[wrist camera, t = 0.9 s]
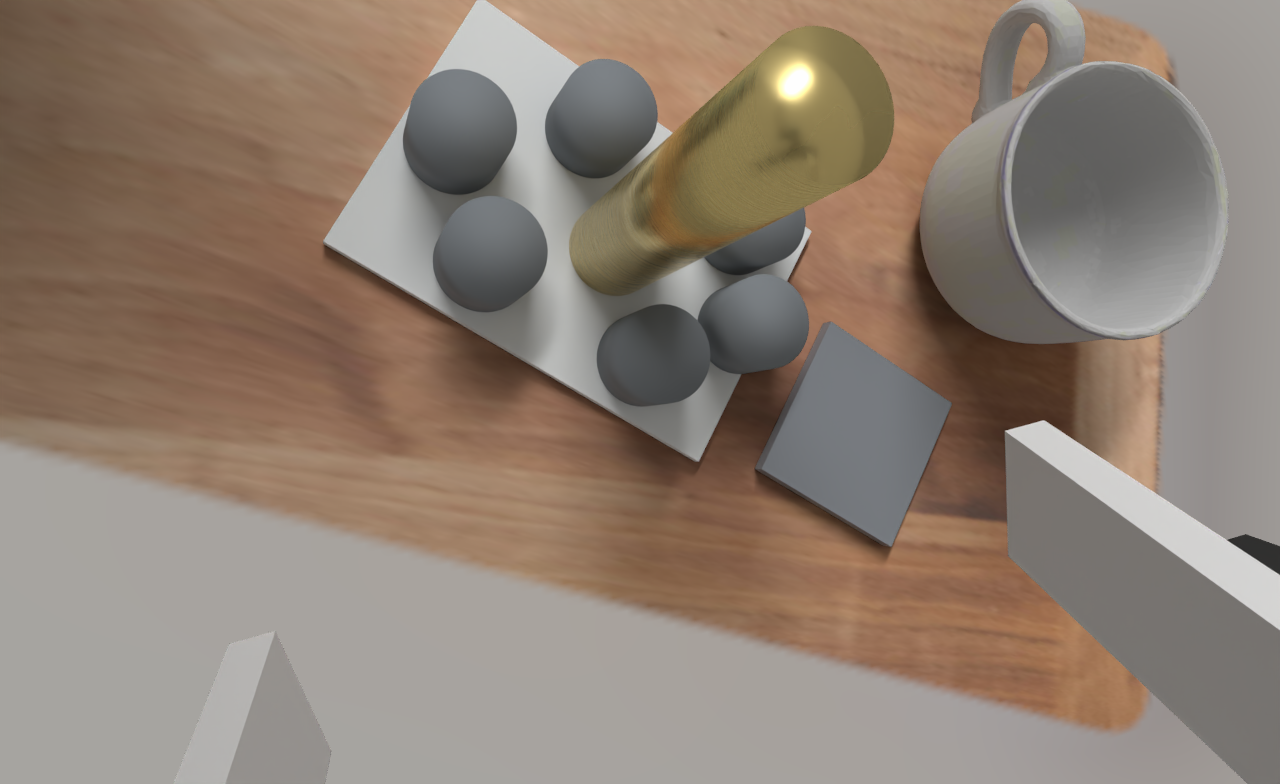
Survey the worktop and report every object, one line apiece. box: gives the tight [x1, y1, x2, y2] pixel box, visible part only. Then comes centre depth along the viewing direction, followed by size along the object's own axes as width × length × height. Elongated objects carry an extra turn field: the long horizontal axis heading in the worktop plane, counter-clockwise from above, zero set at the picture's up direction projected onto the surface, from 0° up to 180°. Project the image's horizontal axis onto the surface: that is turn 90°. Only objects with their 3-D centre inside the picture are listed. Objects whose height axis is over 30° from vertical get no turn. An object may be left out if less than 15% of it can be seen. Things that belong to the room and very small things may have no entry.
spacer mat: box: [323, 0, 811, 462], centre depth 32 cm, size 17×11×3 cm, turn 62°
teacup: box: [920, 0, 1229, 344], centre depth 36 cm, size 14×11×8 cm
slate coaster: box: [755, 322, 952, 547], centre depth 37 cm, size 7×7×1 cm
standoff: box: [569, 26, 894, 296], centre depth 26 cm, size 4×4×15 cm
